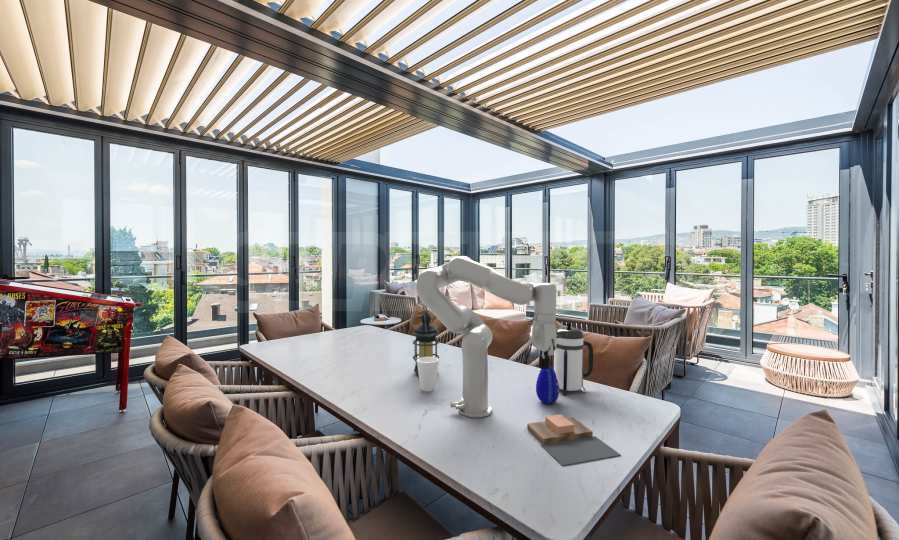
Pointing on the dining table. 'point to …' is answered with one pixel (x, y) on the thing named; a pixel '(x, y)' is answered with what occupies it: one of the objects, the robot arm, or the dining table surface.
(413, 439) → the dining table surface
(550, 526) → the dining table surface
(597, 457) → the mat
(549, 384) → the ornament
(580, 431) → the deck
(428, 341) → the lantern
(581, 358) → the coffee press
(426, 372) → the foam cup
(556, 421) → the tile
